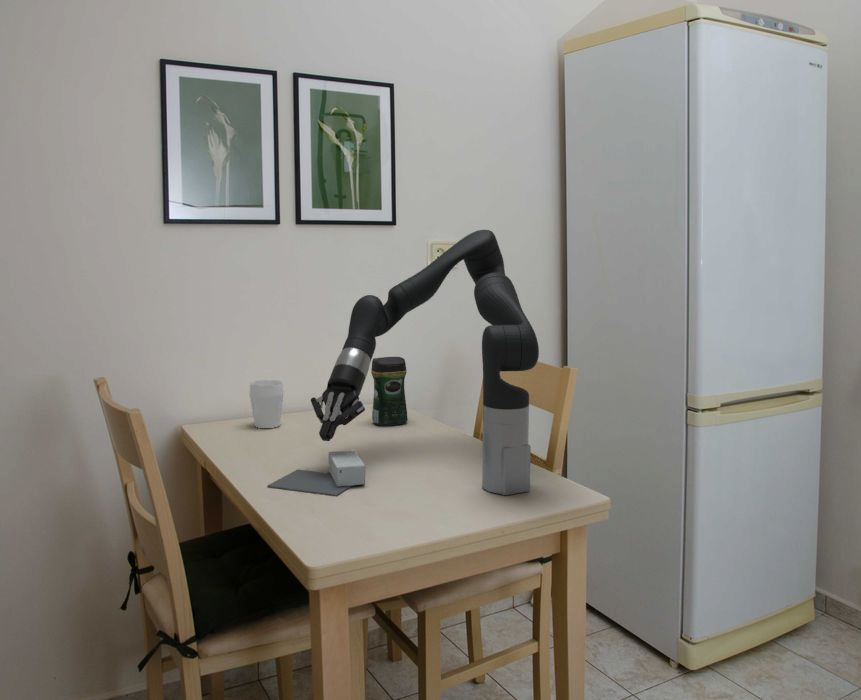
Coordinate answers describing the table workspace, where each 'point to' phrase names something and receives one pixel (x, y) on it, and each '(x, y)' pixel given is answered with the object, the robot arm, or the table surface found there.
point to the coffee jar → (389, 391)
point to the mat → (310, 482)
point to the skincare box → (346, 468)
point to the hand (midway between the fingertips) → (324, 439)
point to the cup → (266, 402)
